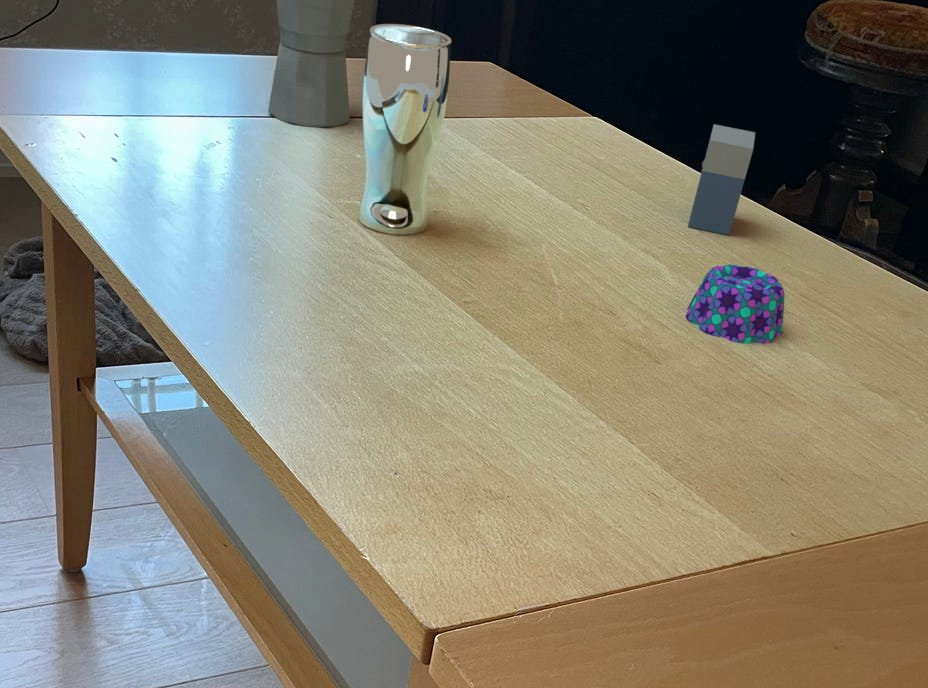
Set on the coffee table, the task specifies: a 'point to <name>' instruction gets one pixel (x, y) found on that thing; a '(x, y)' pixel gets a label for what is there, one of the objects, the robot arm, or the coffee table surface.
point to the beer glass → (401, 123)
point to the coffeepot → (312, 63)
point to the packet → (722, 179)
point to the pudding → (738, 305)
